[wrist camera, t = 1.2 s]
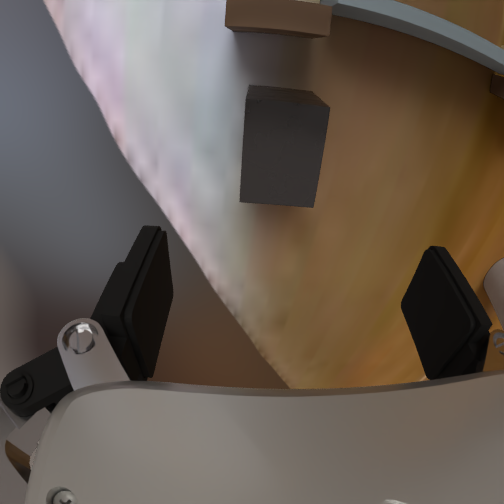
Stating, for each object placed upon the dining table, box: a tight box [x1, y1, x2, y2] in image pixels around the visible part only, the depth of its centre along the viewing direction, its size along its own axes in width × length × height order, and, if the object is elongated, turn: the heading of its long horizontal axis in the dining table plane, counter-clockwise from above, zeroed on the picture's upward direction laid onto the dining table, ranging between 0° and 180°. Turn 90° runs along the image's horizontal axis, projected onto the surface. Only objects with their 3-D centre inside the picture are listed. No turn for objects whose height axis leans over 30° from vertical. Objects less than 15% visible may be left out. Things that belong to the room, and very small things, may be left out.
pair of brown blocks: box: [225, 0, 504, 99], centre depth 17 cm, size 2×30×6 cm, turn 86°
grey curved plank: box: [320, 0, 504, 75], centre depth 15 cm, size 2×18×6 cm, turn 86°
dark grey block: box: [240, 85, 330, 208], centre depth 22 cm, size 7×5×7 cm
